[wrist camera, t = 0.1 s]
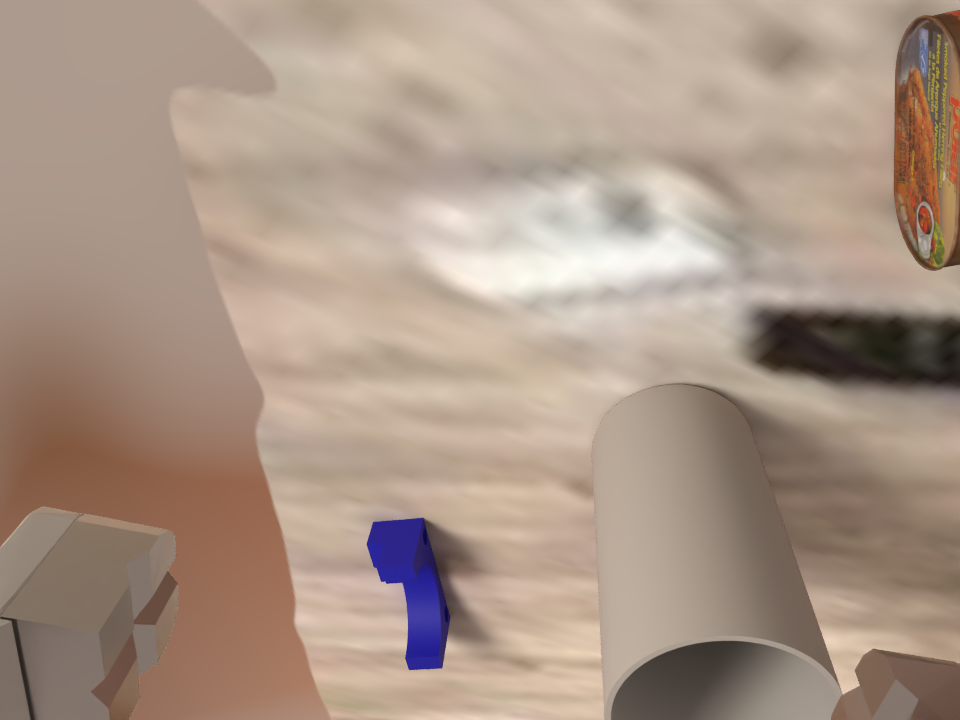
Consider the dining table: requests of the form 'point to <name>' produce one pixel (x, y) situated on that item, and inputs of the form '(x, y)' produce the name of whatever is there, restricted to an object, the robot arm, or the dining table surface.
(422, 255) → the dining table surface
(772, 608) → the cylinder vase
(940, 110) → the tin
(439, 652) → the cable clip
